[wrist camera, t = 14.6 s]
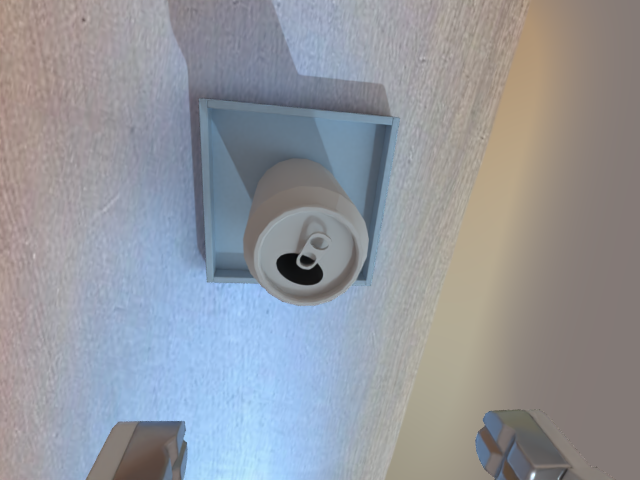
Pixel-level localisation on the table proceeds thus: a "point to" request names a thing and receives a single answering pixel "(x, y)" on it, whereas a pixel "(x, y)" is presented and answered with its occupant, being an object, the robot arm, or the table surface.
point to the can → (304, 234)
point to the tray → (279, 145)
